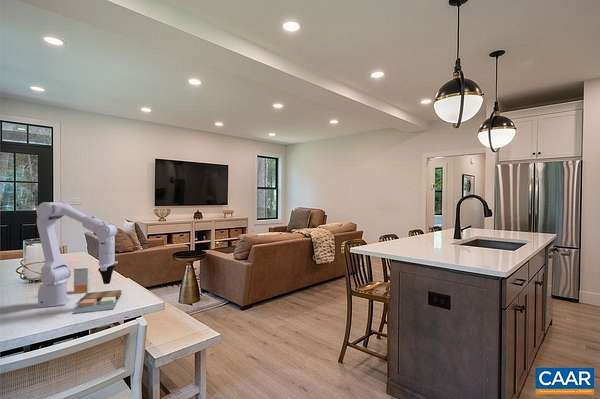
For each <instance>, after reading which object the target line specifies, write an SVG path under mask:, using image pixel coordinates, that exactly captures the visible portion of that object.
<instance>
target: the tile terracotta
mask: <svg viewBox="0 0 600 399" xmlns="http://www.w3.org/2000/svg"><path fill="white" fill-rule="evenodd" d="M96 302H97V298H95V299H85V300H83V301H82V302H81V301H80V303H79V305H80V307H86V306H94V305H95V304H96Z"/></svg>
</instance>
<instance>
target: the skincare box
mask: <svg viewBox="0 0 600 399" xmlns="http://www.w3.org/2000/svg"><path fill="white" fill-rule="evenodd" d="M91 274H92V265H85V266H83V265H82V266H76V267H74V268H73V294H81V293H82V294H83V293H90V291H91V290H92V275H91Z"/></svg>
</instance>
